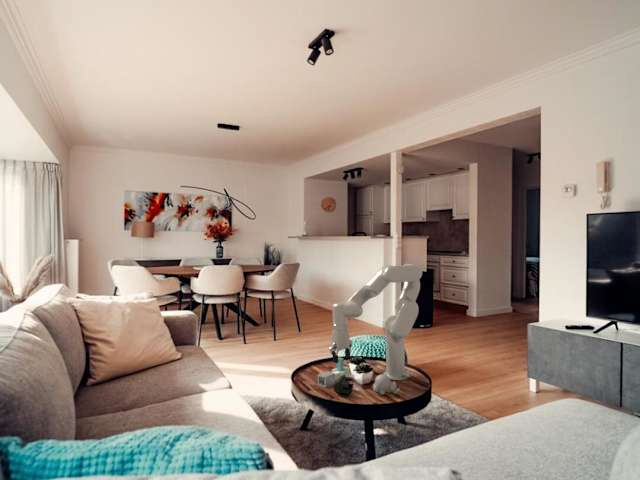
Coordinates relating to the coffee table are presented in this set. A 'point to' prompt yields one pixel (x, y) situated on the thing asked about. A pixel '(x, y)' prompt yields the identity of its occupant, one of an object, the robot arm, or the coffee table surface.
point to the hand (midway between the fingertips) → (341, 360)
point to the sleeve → (326, 379)
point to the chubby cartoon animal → (384, 385)
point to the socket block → (343, 372)
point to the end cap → (343, 386)
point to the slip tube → (339, 368)
